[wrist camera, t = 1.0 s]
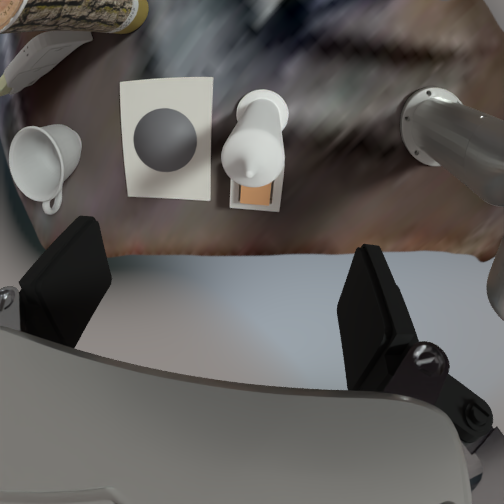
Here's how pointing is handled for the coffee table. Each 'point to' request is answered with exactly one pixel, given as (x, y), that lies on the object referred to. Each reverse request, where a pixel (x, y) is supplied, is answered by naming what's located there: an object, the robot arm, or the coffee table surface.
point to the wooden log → (72, 15)
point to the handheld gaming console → (40, 58)
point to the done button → (256, 195)
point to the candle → (256, 140)
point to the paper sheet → (167, 137)
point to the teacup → (44, 162)
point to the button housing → (273, 205)
